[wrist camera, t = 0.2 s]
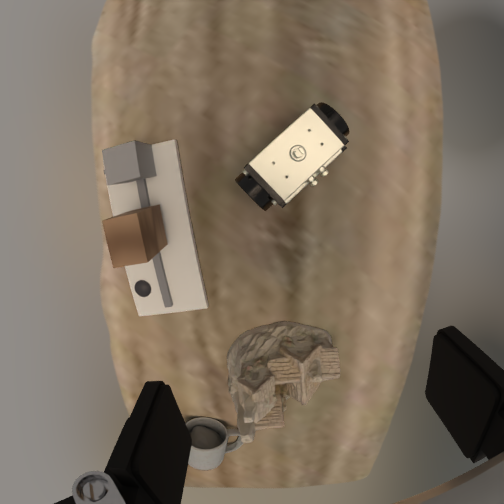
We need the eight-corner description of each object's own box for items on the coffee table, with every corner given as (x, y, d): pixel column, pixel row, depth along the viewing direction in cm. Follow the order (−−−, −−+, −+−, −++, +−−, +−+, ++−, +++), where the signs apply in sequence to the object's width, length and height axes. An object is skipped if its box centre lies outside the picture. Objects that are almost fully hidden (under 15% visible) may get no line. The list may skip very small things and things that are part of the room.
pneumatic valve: (236, 177, 37) (230, 179, 26) (304, 114, 35) (328, 91, 24) (267, 209, 38) (275, 225, 27) (334, 147, 36) (369, 137, 25)
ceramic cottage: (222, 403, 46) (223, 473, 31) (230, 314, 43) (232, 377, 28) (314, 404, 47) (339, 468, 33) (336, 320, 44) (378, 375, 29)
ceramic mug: (185, 441, 49) (180, 472, 41) (184, 413, 47) (178, 445, 39) (242, 447, 49) (242, 478, 42) (246, 420, 47) (247, 452, 40)
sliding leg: (111, 214, 36) (80, 226, 28) (159, 204, 36) (136, 212, 28) (119, 252, 37) (91, 271, 30) (167, 244, 37) (147, 262, 29)
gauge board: (106, 158, 36) (80, 157, 29) (176, 140, 36) (160, 133, 29) (141, 312, 42) (124, 336, 35) (208, 304, 42) (201, 329, 35)
